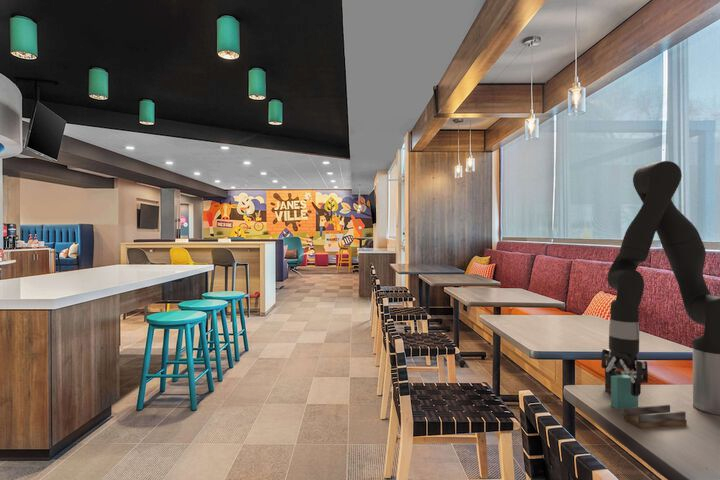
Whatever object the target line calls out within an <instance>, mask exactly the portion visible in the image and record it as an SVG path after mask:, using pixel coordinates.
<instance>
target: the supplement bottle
mask: <svg viewBox="0 0 720 480" xmlns="http://www.w3.org/2000/svg"><path fill="white" fill-rule="evenodd" d="M606 364H607V361H606ZM615 373H616V375H627V374H626V372H625V371H623V370H621V369H617V370H616V371H615ZM604 388H605V390H606V391H607V392H609V393H611V385H609V384H608V382H607V371H606V369H605V368H604Z"/></svg>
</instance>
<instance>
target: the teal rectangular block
mask: <svg viewBox="0 0 720 480" xmlns="http://www.w3.org/2000/svg"><path fill="white" fill-rule="evenodd" d="M634 377H635V375H634ZM635 378H636V377H635ZM631 382H632V381H631V379H630V377H629V376H628V375H627V374H626V375H616V376H611V392H610V407H612V408H614V409H616V410H625V408H630V407H639V396H633V395H631Z"/></svg>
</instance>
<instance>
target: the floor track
mask: <svg viewBox="0 0 720 480" xmlns="http://www.w3.org/2000/svg"><path fill="white" fill-rule="evenodd" d="M686 412H687V411H684V410H681V411H671V405H670V404H658V405H657V404H656V405H647V406H646V405H645V406H644V405H643V406H638V407H630V408H625V409H624V414H623V421H627V422H628V423H630V424H632V425H633V426H635V427H638V428H639V429H650V428H653V429H654V428H660V427H673V426H674V427H675V426H682V425H683V426H684V425H685V426H686V425H687V424H688V423H687V422H688V420H687V419H686Z"/></svg>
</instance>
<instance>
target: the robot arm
mask: <svg viewBox="0 0 720 480" xmlns="http://www.w3.org/2000/svg"><path fill="white" fill-rule="evenodd" d="M682 175H683V173H682V170H681V168H680V166H679V165H678V164H677V163H675V162H673V161H671V160H662V161H658V162H653V163H649V164H647V165H643V166H641V167H638V168H637V169H636V171H635V172H634V174H633V175H632V176H633V177H632V184H633V187H634V189H635V192H636V194H638V197H639V199H640V200H641V202H642V204H641V207H640V208H639V210H638V212H637V214H636V216H634V218H633V220H632V221H631V222H630V224H629V225H628V227H627V229H626V231H625V232H624V236H623V240H622V242H621V245H620V248H619V252H618V254H617V255H616V257H615V258H614V261H613V262H612V264H611V266H610V267H609V269H608V272H607V276H606V278H607V280H606V281H607V283H608V286H609V287H610V288H611V289H613V290H615V291H616V298H615V299H614V300H612V301H611V302H610V312H609V313H610V316H609V317H610V319H609V324H608V325H609V327H608V348H604V349H602V351H601V364H600V365H601V366H600V367H601V368H602V369H604V370H605V369H606V371H607V382H608V384H609V385H611V376H616V373H615V371H616V370H617V369H621V370H623V371H625V372H626V375H628V376H629V377H630V379H631V381H632V382H631V395H633V396H638V397H639V396H640V395H641V392H642V391H641V390H642V388H641V387H642V384H646V383H647V384H648V382H649V375H648V373H649V371H648V368H649V367H648V362H647V361H646V360H639V359H638V357H637V356H638V354H639V353H640V325H639V318H640V317H639V316H640V315H639V314H640V311H639V308H640V304H641V302H642V298H643V294H644V290H645V280H644V276H643V275H642V274H641V273H640V272H639V271H638V270H637V269H638V267H639V265H640V264H641V263H642V264H643V263H644V262H646V261H647V258H648V256H649V253H650V250H651V247H652V244H653V241H654V237H655V234H656V233H657V236H658V239H659V240H660V241H659V242H660V245H661V247H662V249H663V252H664V253H665V256H666V258H667V260H668V262H669V265H670V267H671V270H672V272H673V275H674V278H675V280H676V282H677V286H678V289H679V293H680V296H681V299H682V303H683V308H684V310H685V313H686V315H687V316H688V317H689V319H690V320H691V321H693V322H695V323H697V324H699V325H702V326H704V330H703V335H702V336H696V337H694V338H693V339H692V406H693V407H694V408H695V409H698V410H700V411H702V412H706V413H709V414H712V415H717V416H720V296H719V295H713V294H712V293H711V292H710V290H709V288H708V286H707V283H706V281H705V277H704V267H705V262H706V257H707V253H706V249H705V245H704V243H703V239H702V238H701V235H700V233H699V231H698V230H697V227H696V226H695V225H694V224H693V223H692V222H691V221H690V220H689V219H688V218H687V217H686V216H685V215H684V214H683V213H682V212H681V211H680V210H679V209H678V208H677V207H676V205H675V204H674V202H673V200H672V198H673V196H674V195H675V193H676V191H677V190H678V188H679V185H680V183H681V181H682V180H681V179H682V177H683V176H682ZM606 362H607V364H606ZM634 376H635V377H636V378H635V377H634Z"/></svg>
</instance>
